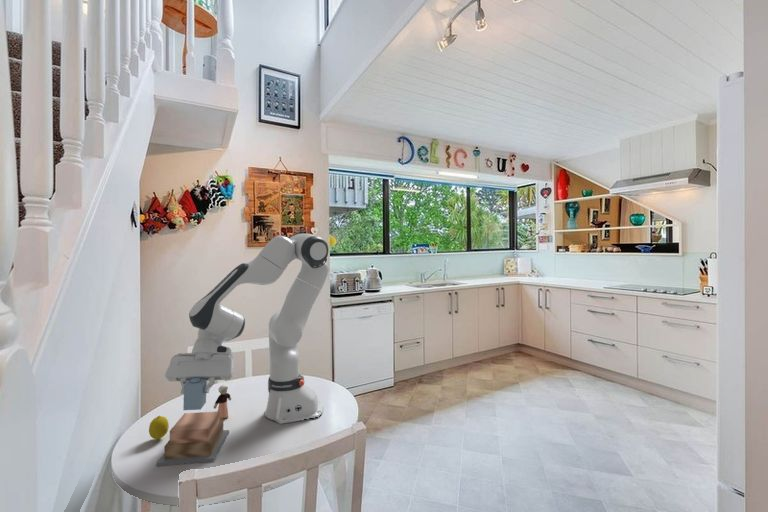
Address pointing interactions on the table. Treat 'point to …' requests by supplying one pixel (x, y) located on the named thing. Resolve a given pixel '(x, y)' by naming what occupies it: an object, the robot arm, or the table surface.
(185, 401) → the blue knobbed block
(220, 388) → the grandmother figurine
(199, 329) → the robot arm
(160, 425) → the lemon
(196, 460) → the baseplate
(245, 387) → the table surface
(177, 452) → the terracotta brick
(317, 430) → the table surface
